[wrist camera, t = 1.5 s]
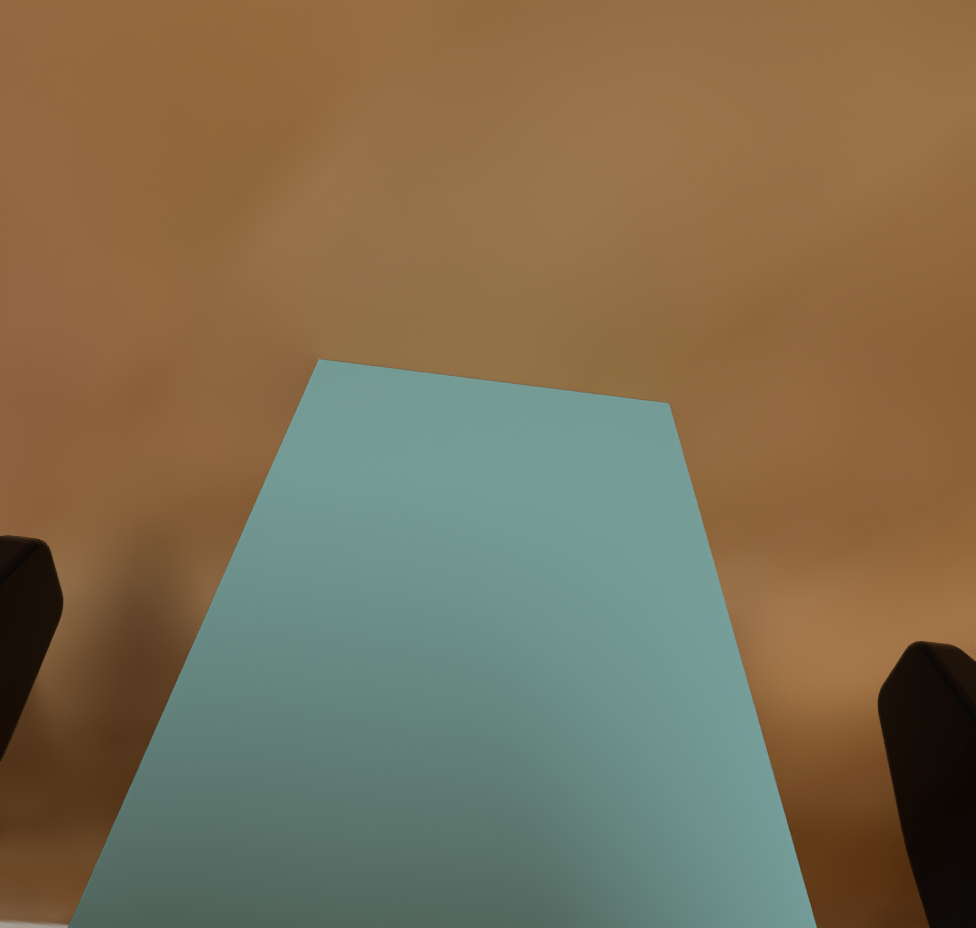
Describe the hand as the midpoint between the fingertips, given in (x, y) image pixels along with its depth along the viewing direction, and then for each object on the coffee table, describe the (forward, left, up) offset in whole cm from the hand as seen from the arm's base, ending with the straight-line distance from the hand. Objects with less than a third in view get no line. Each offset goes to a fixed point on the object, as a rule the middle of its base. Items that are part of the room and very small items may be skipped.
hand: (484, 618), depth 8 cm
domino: (0, 0, -4) cm, 4 cm away
